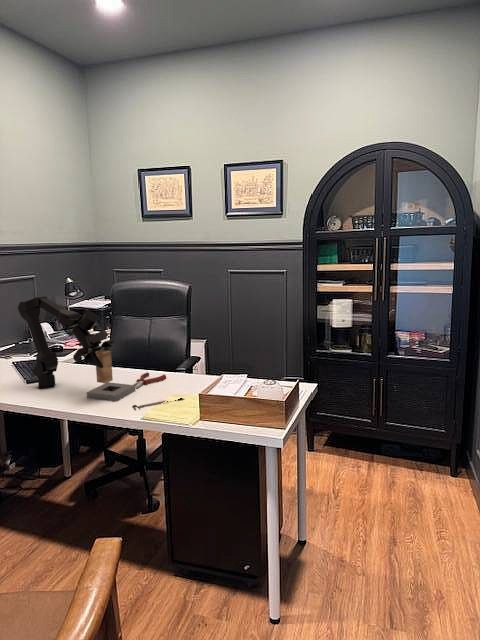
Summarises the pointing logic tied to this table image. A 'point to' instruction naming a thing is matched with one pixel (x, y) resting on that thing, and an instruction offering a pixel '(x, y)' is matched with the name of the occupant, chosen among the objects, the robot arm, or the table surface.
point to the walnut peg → (104, 367)
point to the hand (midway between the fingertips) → (106, 366)
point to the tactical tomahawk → (147, 405)
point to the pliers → (148, 380)
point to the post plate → (111, 391)
